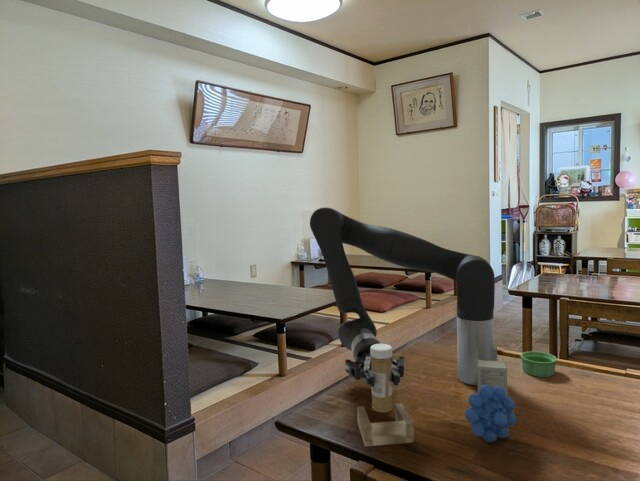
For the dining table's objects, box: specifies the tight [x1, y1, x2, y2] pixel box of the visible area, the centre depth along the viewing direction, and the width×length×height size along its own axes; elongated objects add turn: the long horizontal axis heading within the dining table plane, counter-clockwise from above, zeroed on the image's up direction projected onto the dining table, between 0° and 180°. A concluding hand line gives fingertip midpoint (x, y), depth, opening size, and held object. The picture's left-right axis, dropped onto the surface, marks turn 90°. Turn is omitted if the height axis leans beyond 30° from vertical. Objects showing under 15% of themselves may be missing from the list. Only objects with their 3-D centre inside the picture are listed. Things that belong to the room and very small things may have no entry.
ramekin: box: [520, 350, 558, 378], centre depth 123 cm, size 9×9×4 cm
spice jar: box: [370, 343, 394, 413], centre depth 93 cm, size 5×5×14 cm
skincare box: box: [477, 360, 509, 397], centre depth 99 cm, size 6×4×12 cm
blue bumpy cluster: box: [465, 385, 517, 443], centre depth 88 cm, size 12×7×12 cm, turn 107°
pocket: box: [356, 403, 415, 447], centre depth 94 cm, size 10×9×4 cm
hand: (384, 381), depth 91 cm, fingers closed on spice jar, 4 cm apart
